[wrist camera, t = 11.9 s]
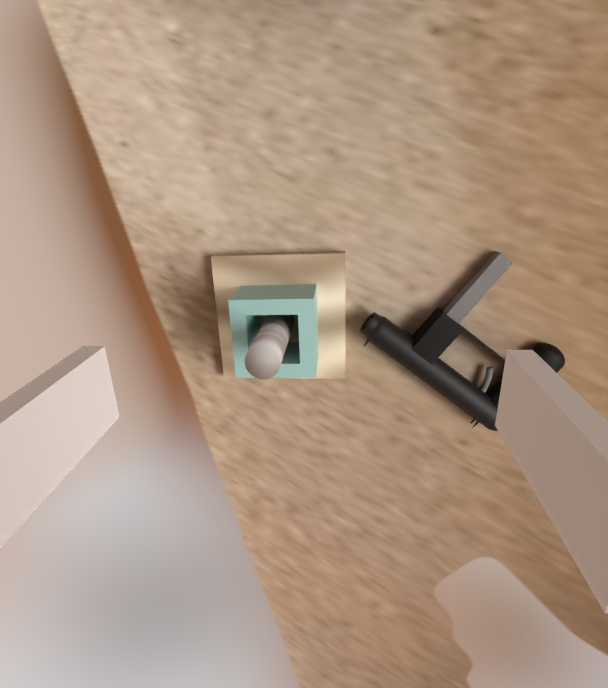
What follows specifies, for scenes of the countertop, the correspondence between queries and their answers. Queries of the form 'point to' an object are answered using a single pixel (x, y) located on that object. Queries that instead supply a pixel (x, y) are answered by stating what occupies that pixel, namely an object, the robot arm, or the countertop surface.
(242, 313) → the collar
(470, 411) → the black toy gun
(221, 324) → the peg stand
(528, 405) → the robot arm
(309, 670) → the countertop surface
